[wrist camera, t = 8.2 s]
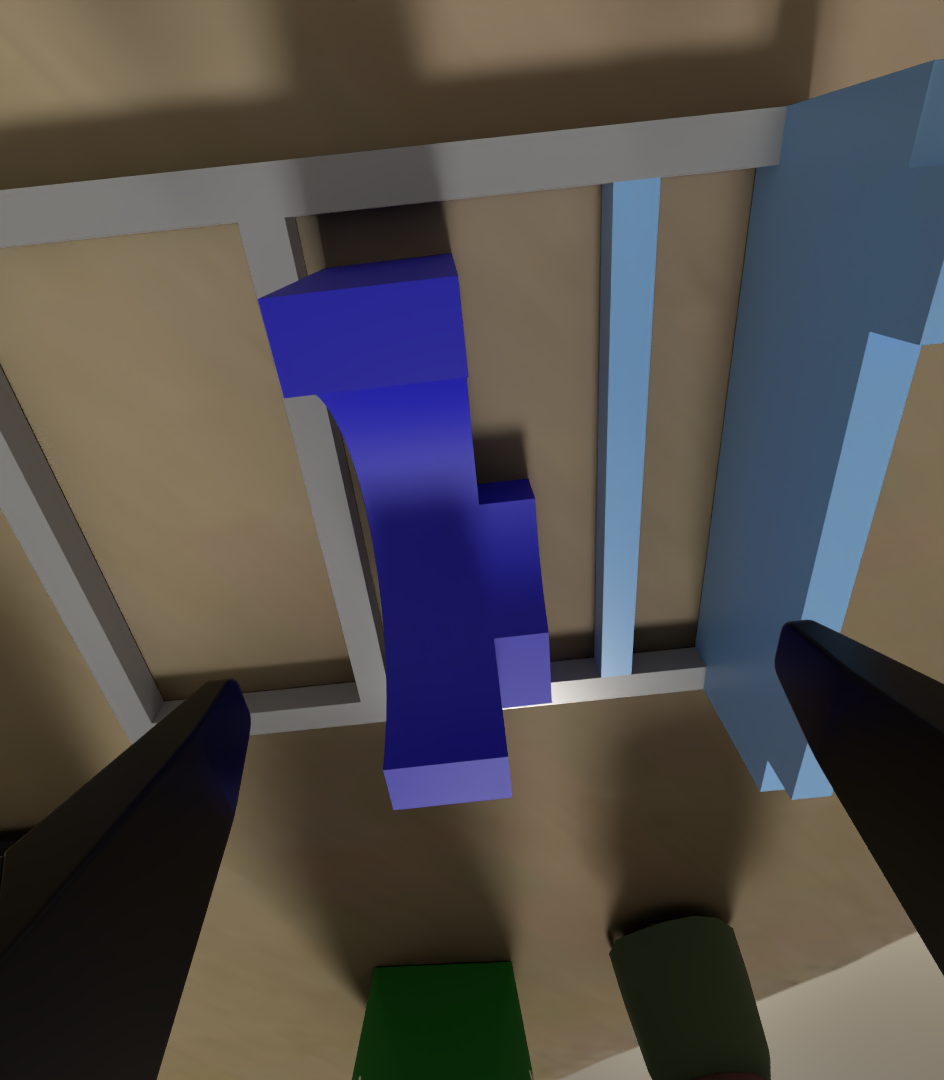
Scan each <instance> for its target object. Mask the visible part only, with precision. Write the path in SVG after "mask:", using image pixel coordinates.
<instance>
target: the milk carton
mask: <svg viewBox="0 0 944 1080" xmlns="http://www.w3.org/2000/svg"><path fill="white" fill-rule="evenodd" d="M352 1080H534V1078H533V1073H532V1067H531V1062H530V1057H529V1051H528V1046H527V1041H526V1036H525V1030H524V1025H523V1020H522V1015H521V1009H520V1004H519V999H518V993H517V988H516V983H515V978H514V972H513V966H512V962H490V963H467V964H444V965H421V966H398V967H376V968H374V971H373V976H372V981H371V987H370V992H369V997H368V1002H367V1007H366V1011H365V1016H364V1021H363V1026H362V1031H361V1036H360V1041H359V1046H358V1051H357V1057H356V1062H355V1067H354V1072H353V1077H352Z"/></svg>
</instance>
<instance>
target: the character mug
mask: <svg viewBox="0 0 944 1080" xmlns="http://www.w3.org/2000/svg"><path fill="white" fill-rule="evenodd" d="M609 955H610V958H611V962H612V965H613V968H614V971H615V975H616V978H617V981H618V985H619V988H620V991H621V994H622V998H623V1001H624V1004H625V1007H626V1009H627V1012H628V1015H629V1018H630V1021H631V1024H632V1026H633V1029H634V1032H635V1035H636V1038H637V1041H638V1044H639V1046H640V1049H641V1052H642V1055H643V1058H644V1061H645V1063H646V1066H647V1069H648V1072H649V1074H650V1076H651V1078H652V1080H771V1079H770V1078H771V1075H770V1055H769V1049H768V1045H767V1042H766V1038H765V1035H764V1031H763V1027H762V1024H761V1020H760V1017H759V1013H758V1010H757V1006H756V1002H755V999H754V995H753V991H752V988H751V984H750V981H749V977H748V974H747V970H746V967H745V964H744V961H743V958H742V955H741V952H740V949H739V946H738V943H737V940H736V937H735V934H734V930H733V928H732V927H730V926H729V925H727V924H726V923H724V922H723V921H722V920H720V919H719V918H714V917H700V916H691V917H686V918H681V919H676V920H671V921H666V922H662V923H660V924H650V925H649V926H648V928H645V929H642V930H639V931H637V932H634V933H632V934H629V935H626V936H624V937H621V938H619V939H616V941H615V943H614V945H613V947H612V949H611V951H610V953H609Z"/></svg>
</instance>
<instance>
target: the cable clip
mask: <svg viewBox="0 0 944 1080" xmlns="http://www.w3.org/2000/svg"><path fill="white" fill-rule="evenodd" d="M258 303H259V306H260V310H261V314H262V318H263V321H264V325H265V329H266V333H267V337H268V340H269V344H270V348H271V352H272V355H273V359H274V363H275V367H276V370H277V374H278V378H279V382H280V385H281V389H282V393H283V397H284V398H292V397H300V396H309V395H316V396H318V397H319V398H320V399H321V400H322V401H323V403H324V404H325V405H326V406H327V408H328V409H329V411H330V412H331V414H332V415H333V417H334V419H335V421H336V423H337V424H338V426H339V428H340V431H341V433H342V435H343V437H344V440H345V442H346V445H347V447H348V450H349V452H350V455H351V458H352V461H353V464H354V467H355V470H356V473H357V477H358V480H359V484H360V487H361V491H362V495H363V499H364V503H365V507H366V511H367V516H368V521H369V525H370V531H371V536H372V541H373V547H374V553H375V559H376V565H377V572H378V579H379V587H380V596H381V605H382V615H383V626H384V640H385V658H386V737H385V753H384V765H383V772H384V776H385V780H386V784H387V787H388V791H389V795H390V799H391V802H392V806H393V810H401V809H410V808H419V807H429V806H438V805H447V804H457V803H466V802H475V801H484V800H494V799H503V798H512V789H511V780H510V770H509V761H508V752H507V744H506V736H505V727H504V719H503V711H502V708H510V707H519V706H528V705H537V704H546V703H552V695H551V673H550V651H549V632H548V625H547V617H546V610H545V602H544V594H543V586H542V577H541V568H540V558H539V547H538V536H537V523H536V508H535V497H534V494H533V491H532V488H531V485H530V482H529V479H520V480H511V481H503V482H494V483H485V484H477V480H476V470H475V461H474V451H473V441H472V431H471V421H470V410H469V399H468V387H467V377H468V368H467V358H466V349H465V339H464V330H463V320H462V311H461V301H460V291H459V282H458V274H457V271H456V267H455V264H454V260H453V256H452V253H449V254H440V255H432V256H423V257H415V258H406V259H398V260H389V261H380V262H372V263H363V264H355V265H346V266H338V267H329V268H325V269H322V270H320V271H318V272H316V273H314V274H311V275H309V276H307V277H305V278H303V279H300V280H298V281H296V282H294V283H292V284H289V285H287V286H285V287H283V288H281V289H278V290H276V291H274V292H272V293H270V294H267V295H265V296H263V297H261V298H259V299H258Z"/></svg>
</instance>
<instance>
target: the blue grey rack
mask: <svg viewBox="0 0 944 1080" xmlns="http://www.w3.org/2000/svg"><path fill="white" fill-rule="evenodd" d="M751 168H756V174H755V182H754V190H753V198H752V206H751V213H750V221H749V229H748V237H747V245H746V253H745V260H744V268H743V276H742V284H741V292H740V299H739V307H738V315H737V323H736V331H735V339H734V346H733V354H732V362H731V370H730V378H729V385H728V393H727V401H726V409H725V417H724V425H723V432H722V440H721V448H720V456H719V464H718V472H717V479H716V487H715V495H714V503H713V511H712V518H711V526H710V534H709V542H708V550H707V558H706V565H705V573H704V581H703V589H702V597H701V605H700V612H699V620H698V628H697V636H696V644H695V647H691V648H682V649H672V650H662V651H652V652H642V653H633V638H634V621H635V604H636V587H637V570H638V554H639V537H640V520H641V503H642V486H643V469H644V452H645V435H646V418H647V401H648V385H649V368H650V351H651V334H652V317H653V300H654V283H655V266H656V249H657V232H658V216H659V199H660V182H661V178H667V177H676V176H686V175H695V174H704V173H714V172H723V171H733V170H742V169H751ZM601 184H602V220H601V280H600V341H599V401H598V462H597V522H596V583H595V643H594V658H584V659H574V660H564V661H555V662H550V673H551V695H552V703H546V704H537V705H528V706H519V707H510V708H502V710H504V709H514V708H524V707H534V706H543V705H553V704H563V703H573V702H583V701H592V700H602V699H612V698H622V697H632V696H641V695H651V694H661V693H671V692H680V691H690V690H700V689H704V691H705V693H706V695H707V696H708V698H709V700H710V702H711V704H712V706H713V707H714V709H715V711H716V713H717V715H718V716H719V718H720V720H721V722H722V724H723V725H724V727H725V729H726V731H727V733H728V734H729V736H730V738H731V740H732V742H733V744H734V745H735V747H736V749H737V751H738V753H739V754H740V756H741V758H742V760H743V762H744V763H745V765H746V767H747V769H748V771H749V772H750V774H751V776H752V778H753V780H754V782H755V783H756V785H757V787H758V789H759V791H760V792H764V791H774V790H784V789H785V790H786V792H787V793H788V795H789V797H790V798H791V800H795V799H805V798H815V797H825V796H831V795H832V792H833V788H832V786H831V785H830V783H829V781H828V780H827V778H826V776H825V775H824V773H823V771H822V769H821V768H820V766H819V764H818V762H817V760H816V759H815V757H814V755H813V753H812V751H811V749H810V747H809V745H808V742H807V740H806V738H805V736H804V734H803V732H802V729H801V727H800V725H799V723H798V721H797V718H796V716H795V714H794V712H793V710H792V707H791V705H790V703H789V701H788V699H787V697H786V694H785V692H784V690H783V688H782V686H781V683H780V681H779V679H778V677H777V674H776V671H775V666H774V659H775V654H776V650H777V645H778V641H779V636H780V632H781V628H782V626H783V625H784V624H785V623H786V622H789V621H797V620H813V621H816V622H818V623H820V624H822V625H824V626H826V627H828V628H830V629H832V630H834V631H836V632H838V633H840V631H841V628H842V624H843V621H844V617H845V614H846V610H847V607H848V603H849V600H850V596H851V593H852V589H853V586H854V582H855V578H856V575H857V571H858V568H859V564H860V561H861V557H862V554H863V550H864V547H865V543H866V540H867V536H868V533H869V529H870V526H871V522H872V519H873V515H874V512H875V508H876V504H877V501H878V497H879V494H880V490H881V487H882V483H883V480H884V476H885V473H886V469H887V466H888V462H889V459H890V455H891V452H892V448H893V445H894V441H895V438H896V434H897V430H898V427H899V423H900V420H901V416H902V413H903V409H904V406H905V402H906V399H907V395H908V392H909V388H910V385H911V381H912V378H913V374H914V371H915V367H916V364H917V360H918V356H919V353H920V349H921V346H922V345H928V344H938V343H944V59H939V60H933V61H930V62H926V63H923V64H920V65H917V66H914V67H910V68H907V69H904V70H901V71H898V72H894V73H891V74H888V75H885V76H882V77H878V78H875V79H872V80H869V81H866V82H863V83H859V84H856V85H853V86H850V87H847V88H843V89H840V90H837V91H834V92H831V93H827V94H824V95H821V96H818V97H815V98H811V99H808V100H805V101H802V102H799V103H795V104H792V105H789V106H783V107H774V108H764V109H755V110H746V111H736V112H727V113H718V114H708V115H699V116H689V117H680V118H671V119H661V120H652V121H643V122H633V123H624V124H615V125H605V126H596V127H587V128H577V129H568V130H558V131H549V132H540V133H530V134H521V135H512V136H502V137H493V138H484V139H474V140H465V141H456V142H446V143H437V144H427V145H418V146H409V147H399V148H390V149H381V150H371V151H362V152H353V153H343V154H334V155H325V156H315V157H306V158H296V159H287V160H278V161H268V162H259V163H250V164H240V165H231V166H222V167H212V168H203V169H194V170H184V171H175V172H165V173H156V174H147V175H137V176H128V177H119V178H109V179H100V180H91V181H81V182H72V183H63V184H53V185H44V186H34V187H25V188H16V189H6V190H0V248H9V247H18V246H28V245H37V244H47V243H56V242H65V241H75V240H84V239H93V238H103V237H112V236H122V235H131V234H140V233H150V232H159V231H169V230H178V229H187V228H197V227H206V226H216V225H225V224H234V223H238V226H239V230H240V234H241V238H242V242H243V246H244V249H245V253H246V257H247V261H248V265H249V269H250V273H251V277H252V280H253V284H254V288H255V292H256V296H257V300H258V299H259V298H261V297H263V296H265V295H267V294H270V293H272V292H274V291H276V290H278V289H281V288H283V287H285V286H287V285H289V284H292V283H294V282H296V281H298V280H300V279H303V278H305V277H307V272H306V267H305V262H304V258H303V253H302V248H301V244H300V239H299V234H298V230H297V225H296V220H295V217H300V216H310V215H319V214H328V213H338V212H347V211H357V210H366V209H375V208H385V207H394V206H404V205H413V204H422V203H432V202H441V201H451V200H460V199H469V198H479V197H488V196H498V195H507V194H516V193H526V192H535V191H545V190H554V189H563V188H573V187H582V186H592V185H601ZM258 304H259V303H258ZM259 308H260V306H259ZM260 312H261V310H260ZM261 315H262V314H261ZM262 319H263V318H262ZM263 323H264V321H263ZM264 327H265V325H264ZM265 331H266V329H265ZM266 335H267V333H266ZM267 339H268V337H267ZM268 343H269V340H268ZM269 347H270V344H269ZM270 350H271V348H270ZM271 354H272V352H271ZM272 358H273V355H272ZM273 362H274V359H273ZM274 366H275V363H274ZM275 370H276V367H275ZM276 374H277V370H276ZM277 378H278V374H277ZM278 382H279V378H278ZM279 385H280V382H279ZM280 389H281V385H280ZM281 393H282V389H281ZM282 397H283V393H282ZM283 401H284V405H285V409H286V413H287V417H288V420H289V424H290V428H291V432H292V436H293V440H294V444H295V448H296V451H297V455H298V459H299V463H300V467H301V471H302V475H303V479H304V483H305V486H306V490H307V494H308V498H309V502H310V506H311V510H312V514H313V518H314V521H315V525H316V529H317V533H318V537H319V541H320V545H321V549H322V553H323V556H324V560H325V564H326V568H327V572H328V576H329V580H330V584H331V588H332V591H333V595H334V599H335V603H336V607H337V611H338V615H339V619H340V622H341V626H342V630H343V634H344V638H345V642H346V646H347V650H348V654H349V657H350V661H351V665H352V669H353V673H354V677H355V681H356V682H350V683H340V684H330V685H321V686H311V687H301V688H291V689H282V690H272V691H262V692H252V693H243V696H244V699H245V701H246V704H247V706H248V709H249V711H250V715H251V730H250V735H260V734H269V733H279V732H289V731H299V730H309V729H318V728H328V727H338V726H348V725H357V724H367V723H377V722H386V658H385V640H384V633H383V628H382V623H381V619H380V614H379V609H378V605H377V600H376V595H375V591H374V586H373V581H372V576H371V572H370V567H369V562H368V558H367V553H366V548H365V544H364V539H363V534H362V530H361V525H360V520H359V516H358V511H357V506H356V502H355V497H354V492H353V487H352V483H351V478H350V473H349V469H348V464H347V459H346V455H345V450H344V445H343V441H342V436H341V431H340V428H339V426H338V424H337V423H336V421H335V419H334V417H333V415H332V414H331V412H330V411H329V409H328V408H327V406H326V405H325V404H324V403H323V401H322V400H321V399H320V398H319V397H318V396H316V395H309V396H300V397H292V398H284V397H283ZM0 508H1V510H2V512H3V514H4V516H5V517H6V519H7V521H8V523H9V525H10V526H11V528H12V530H13V532H14V534H15V535H16V537H17V539H18V541H19V543H20V544H21V546H22V548H23V550H24V552H25V553H26V555H27V557H28V559H29V561H30V562H31V564H32V566H33V568H34V570H35V571H36V573H37V575H38V577H39V579H40V580H41V582H42V584H43V586H44V588H45V589H46V591H47V593H48V595H49V597H50V598H51V600H52V602H53V604H54V606H55V607H56V609H57V611H58V613H59V615H60V616H61V618H62V620H63V622H64V624H65V625H66V627H67V629H68V631H69V633H70V634H71V636H72V638H73V640H74V642H75V643H76V645H77V647H78V649H79V651H80V652H81V654H82V656H83V658H84V660H85V661H86V663H87V665H88V667H89V669H90V670H91V672H92V674H93V676H94V678H95V679H96V681H97V683H98V685H99V687H100V688H101V690H102V692H103V694H104V696H105V697H106V699H107V701H108V703H109V705H110V706H111V708H112V710H113V712H114V714H115V715H116V717H117V719H118V721H119V723H120V725H121V726H122V728H123V730H124V732H125V734H126V735H127V737H128V739H129V741H130V743H131V744H133V743H135V742H136V741H137V740H138V739H139V738H140V737H142V736H143V735H144V734H145V733H146V732H148V731H149V730H150V729H151V728H152V727H154V726H155V725H156V724H157V723H158V722H159V721H161V720H162V719H163V718H164V717H165V716H167V715H168V714H169V713H170V712H171V711H172V710H174V709H175V708H176V707H177V706H178V705H180V704H181V703H182V702H183V701H184V700H185V699H184V700H174V701H165V702H164V700H163V698H162V696H161V694H160V692H159V690H158V688H157V686H156V684H155V682H154V680H153V678H152V676H151V674H150V672H149V670H148V667H147V665H146V663H145V661H144V659H143V657H142V655H141V653H140V651H139V649H138V647H137V645H136V643H135V641H134V639H133V637H132V635H131V633H130V631H129V629H128V627H127V624H126V622H125V620H124V618H123V616H122V614H121V612H120V610H119V608H118V606H117V604H116V602H115V600H114V598H113V596H112V594H111V592H110V590H109V588H108V586H107V584H106V582H105V579H104V577H103V575H102V573H101V571H100V569H99V567H98V565H97V563H96V561H95V559H94V557H93V555H92V553H91V551H90V549H89V547H88V545H87V543H86V541H85V539H84V537H83V534H82V532H81V530H80V528H79V526H78V524H77V522H76V520H75V518H74V516H73V514H72V512H71V510H70V508H69V506H68V504H67V502H66V500H65V498H64V496H63V494H62V492H61V489H60V487H59V485H58V483H57V481H56V479H55V477H54V475H53V473H52V471H51V469H50V467H49V465H48V463H47V461H46V459H45V457H44V455H43V453H42V451H41V449H40V446H39V444H38V442H37V440H36V438H35V436H34V434H33V432H32V430H31V428H30V426H29V424H28V422H27V420H26V418H25V416H24V414H23V412H22V410H21V408H20V406H19V404H18V401H17V399H16V397H15V395H14V393H13V391H12V389H11V387H10V385H9V383H8V381H7V379H6V377H5V375H4V373H3V371H2V369H1V367H0ZM250 735H249V736H250Z"/></svg>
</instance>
